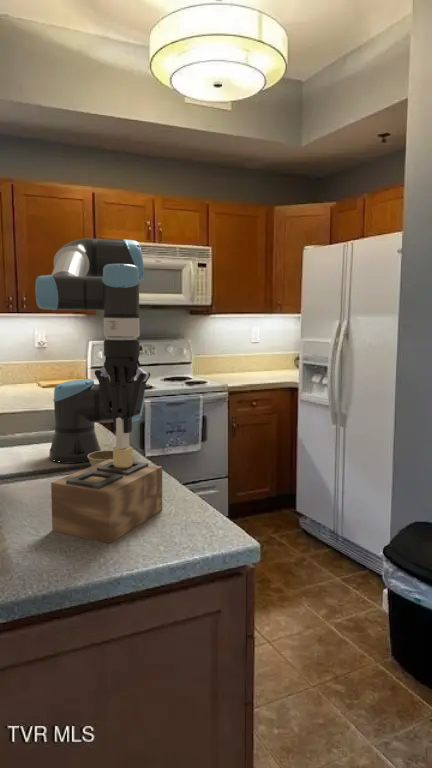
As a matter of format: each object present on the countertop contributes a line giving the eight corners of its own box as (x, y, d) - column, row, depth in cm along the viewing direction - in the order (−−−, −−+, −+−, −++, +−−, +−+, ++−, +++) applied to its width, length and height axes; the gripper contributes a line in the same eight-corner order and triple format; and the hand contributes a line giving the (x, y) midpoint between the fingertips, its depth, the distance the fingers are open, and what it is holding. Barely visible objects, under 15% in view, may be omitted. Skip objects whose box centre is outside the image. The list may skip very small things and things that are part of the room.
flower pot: (80, 488, 138) (79, 454, 136) (111, 480, 144) (110, 448, 143) (102, 497, 131) (102, 462, 130) (133, 488, 138) (133, 454, 137)
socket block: (110, 500, 129) (110, 456, 128) (162, 509, 123) (162, 463, 122) (52, 530, 111) (50, 479, 110) (109, 543, 105) (108, 489, 104)
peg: (120, 480, 124) (120, 444, 122) (136, 483, 122) (136, 447, 121) (109, 485, 120) (109, 449, 119) (125, 488, 118) (125, 451, 117)
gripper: (85, 338, 116) (87, 447, 119) (138, 340, 111) (138, 454, 113) (106, 337, 123) (108, 440, 126) (157, 338, 117) (157, 446, 120)
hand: (122, 446), depth 120 cm, fingers closed
